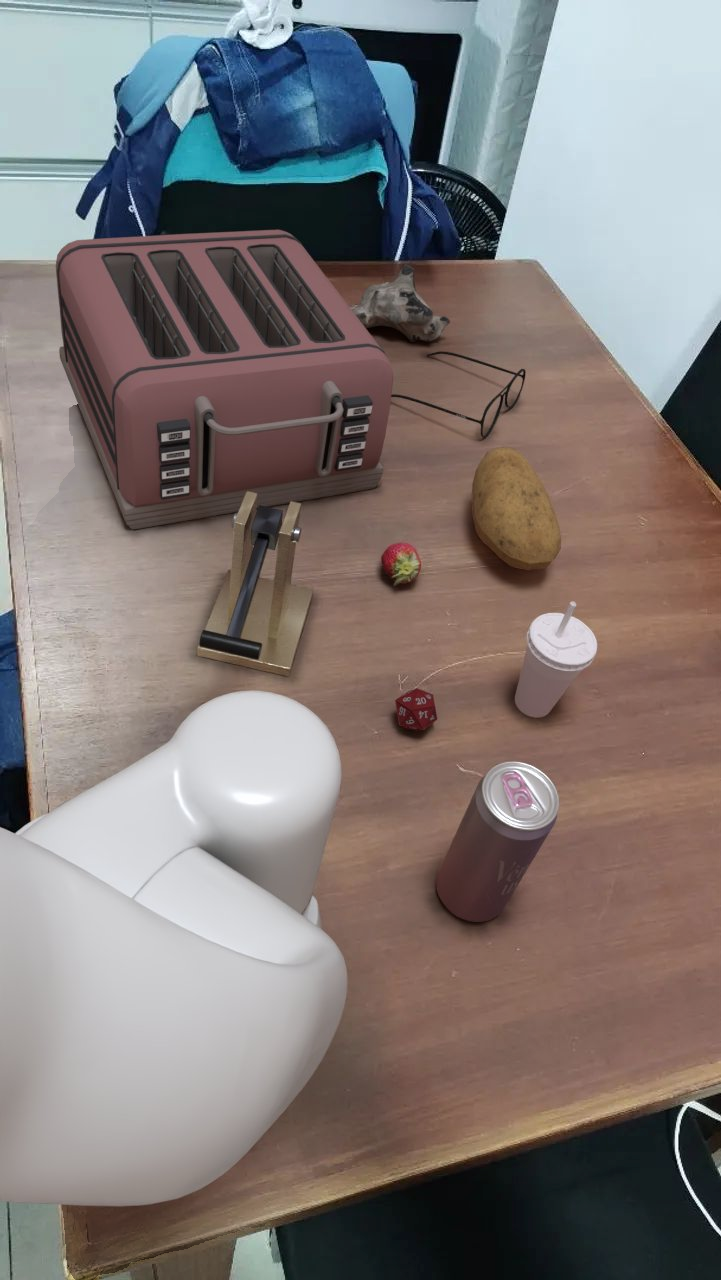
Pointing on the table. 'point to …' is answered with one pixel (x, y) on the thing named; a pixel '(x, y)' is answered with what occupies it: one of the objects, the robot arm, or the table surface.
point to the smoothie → (553, 660)
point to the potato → (514, 511)
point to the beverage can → (497, 840)
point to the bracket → (263, 596)
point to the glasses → (490, 401)
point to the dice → (416, 710)
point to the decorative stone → (400, 309)
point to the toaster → (219, 373)
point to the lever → (248, 588)
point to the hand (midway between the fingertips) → (219, 1021)
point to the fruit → (401, 562)
